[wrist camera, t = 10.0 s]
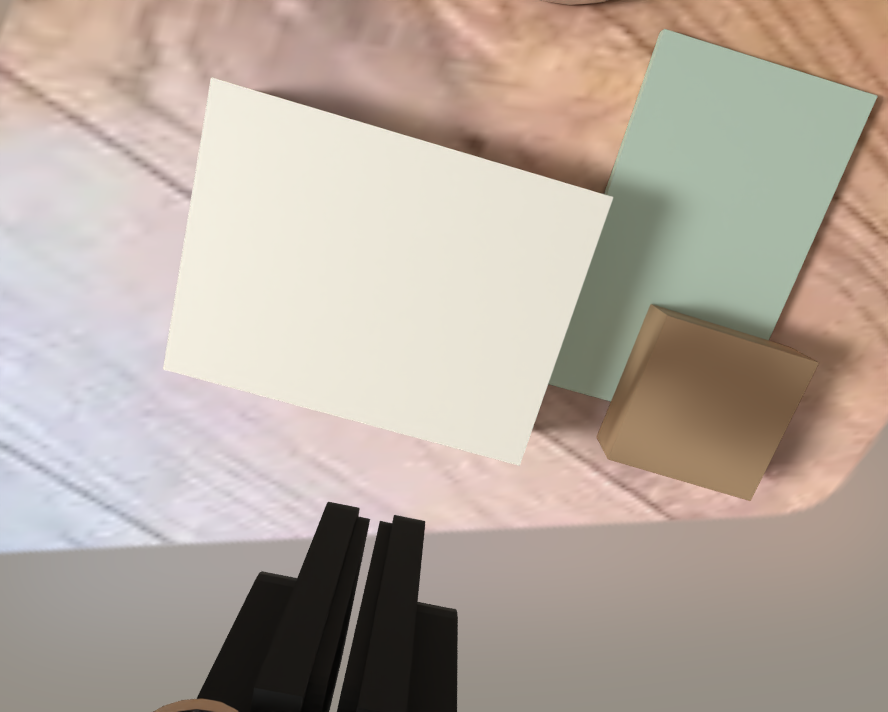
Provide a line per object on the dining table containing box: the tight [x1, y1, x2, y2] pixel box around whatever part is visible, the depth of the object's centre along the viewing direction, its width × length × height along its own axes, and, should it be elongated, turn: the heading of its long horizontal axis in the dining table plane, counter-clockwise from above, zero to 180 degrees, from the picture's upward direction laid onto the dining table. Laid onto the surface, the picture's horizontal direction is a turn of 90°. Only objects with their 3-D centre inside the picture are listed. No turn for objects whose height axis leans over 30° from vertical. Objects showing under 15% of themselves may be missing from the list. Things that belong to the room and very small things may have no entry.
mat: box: [548, 29, 877, 401], centre depth 29 cm, size 16×10×1 cm, turn 164°
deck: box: [163, 78, 613, 466], centre depth 28 cm, size 12×16×4 cm
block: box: [597, 304, 819, 501], centre depth 29 cm, size 7×7×2 cm
